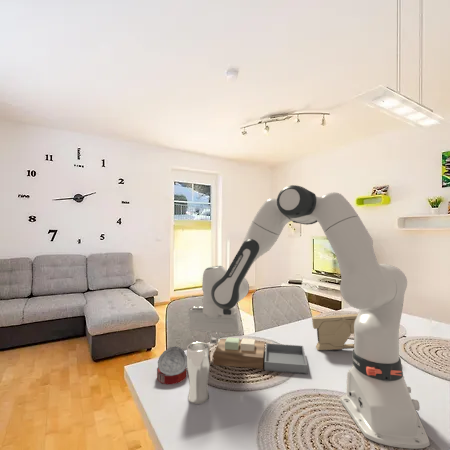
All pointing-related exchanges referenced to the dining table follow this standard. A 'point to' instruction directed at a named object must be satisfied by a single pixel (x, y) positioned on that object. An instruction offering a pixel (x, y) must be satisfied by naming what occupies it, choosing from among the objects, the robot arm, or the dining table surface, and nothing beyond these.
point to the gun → (334, 331)
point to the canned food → (172, 366)
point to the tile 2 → (248, 344)
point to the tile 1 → (232, 343)
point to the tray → (285, 358)
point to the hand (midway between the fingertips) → (213, 343)
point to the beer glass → (198, 371)
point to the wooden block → (239, 356)
